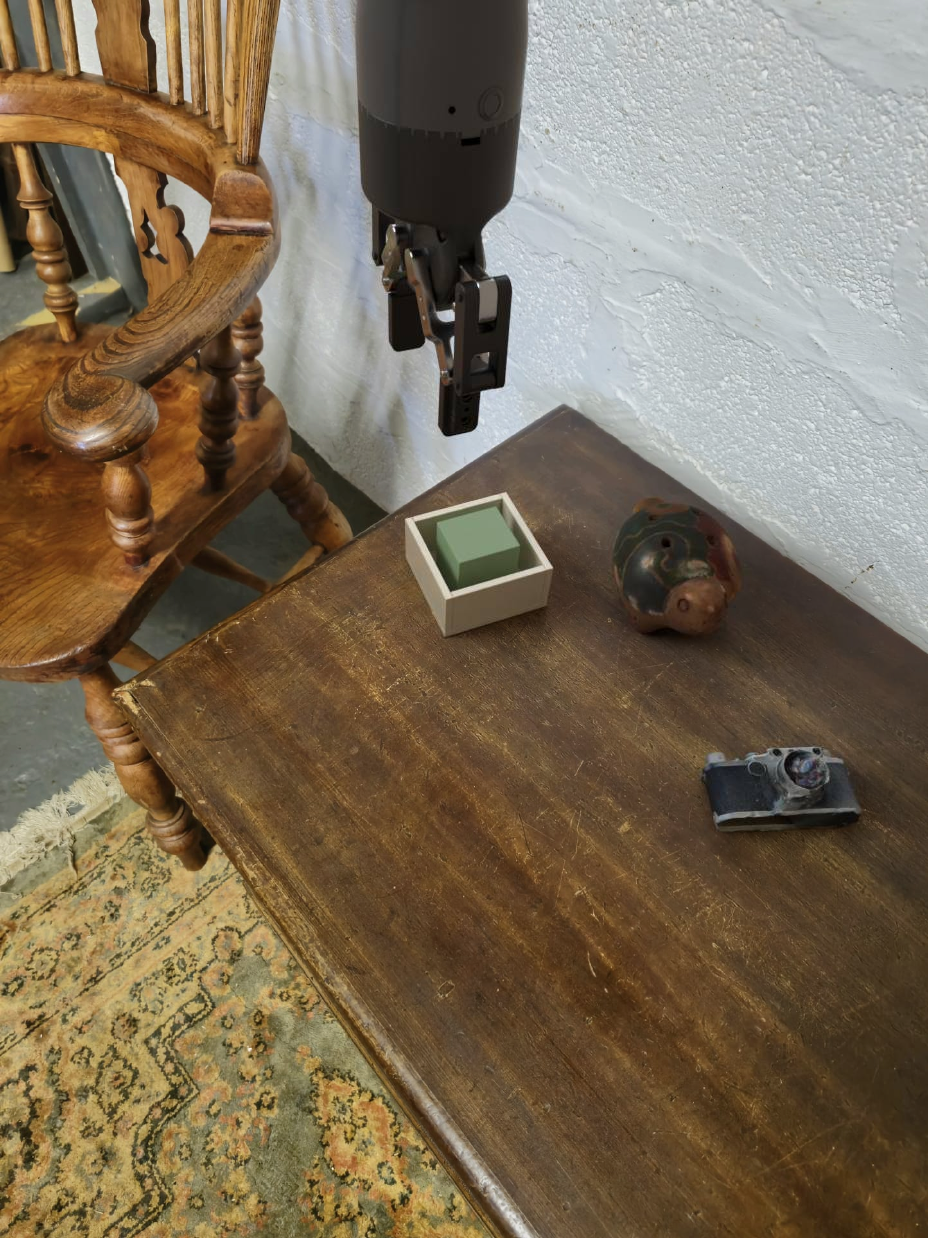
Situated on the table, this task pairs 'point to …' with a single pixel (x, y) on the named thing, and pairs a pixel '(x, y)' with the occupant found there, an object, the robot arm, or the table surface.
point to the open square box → (484, 598)
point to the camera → (780, 790)
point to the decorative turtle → (675, 568)
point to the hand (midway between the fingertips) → (431, 387)
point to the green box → (475, 549)
